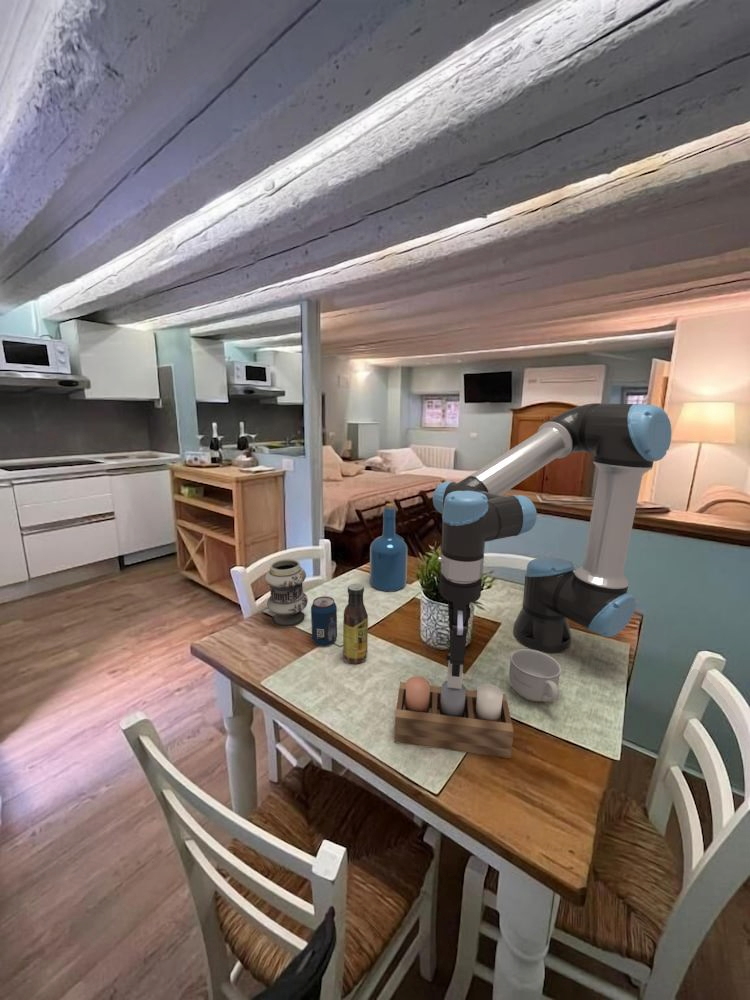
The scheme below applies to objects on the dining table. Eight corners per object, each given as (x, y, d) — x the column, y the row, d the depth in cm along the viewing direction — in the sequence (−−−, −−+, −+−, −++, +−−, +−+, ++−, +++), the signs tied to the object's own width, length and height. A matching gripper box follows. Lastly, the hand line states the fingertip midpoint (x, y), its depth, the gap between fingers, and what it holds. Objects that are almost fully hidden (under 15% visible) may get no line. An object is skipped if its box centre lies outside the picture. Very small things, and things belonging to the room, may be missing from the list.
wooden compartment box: (503, 718, 86) (505, 694, 85) (510, 758, 76) (513, 731, 75) (399, 705, 89) (400, 681, 88) (394, 742, 80) (395, 716, 78)
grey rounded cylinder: (463, 706, 84) (465, 681, 82) (464, 724, 79) (466, 698, 78) (439, 703, 85) (441, 678, 83) (439, 721, 80) (441, 695, 79)
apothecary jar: (280, 606, 131) (277, 554, 127) (314, 612, 128) (313, 558, 123) (260, 626, 120) (256, 569, 115) (297, 632, 117) (294, 574, 112)
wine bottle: (394, 596, 138) (396, 511, 131) (362, 586, 145) (362, 505, 138) (413, 581, 149) (416, 502, 142) (382, 573, 156) (383, 497, 149)
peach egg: (429, 702, 85) (430, 677, 84) (428, 719, 80) (429, 693, 79) (406, 699, 86) (407, 674, 84) (404, 716, 81) (405, 691, 80)
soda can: (317, 632, 117) (315, 594, 114) (340, 635, 116) (339, 596, 113) (308, 646, 110) (306, 606, 107) (332, 649, 109) (332, 609, 106)
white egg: (498, 710, 83) (500, 685, 81) (501, 729, 78) (504, 702, 77) (474, 707, 84) (476, 682, 82) (476, 725, 79) (478, 699, 78)
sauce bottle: (361, 667, 102) (362, 595, 97) (339, 662, 104) (338, 591, 99) (371, 652, 108) (371, 584, 103) (349, 647, 110) (349, 580, 105)
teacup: (502, 675, 99) (504, 646, 97) (546, 676, 99) (550, 647, 97) (519, 719, 86) (523, 686, 84) (571, 720, 86) (576, 688, 84)
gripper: (440, 560, 81) (435, 662, 87) (440, 590, 69) (434, 707, 75) (478, 563, 80) (471, 666, 86) (485, 593, 68) (476, 712, 74)
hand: (454, 685), depth 80 cm, fingers closed
